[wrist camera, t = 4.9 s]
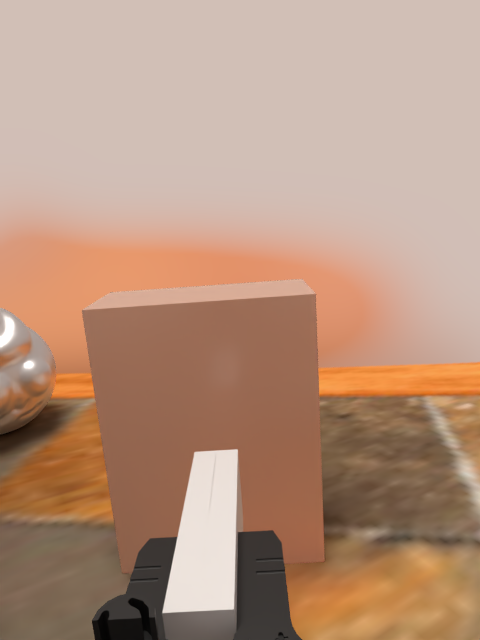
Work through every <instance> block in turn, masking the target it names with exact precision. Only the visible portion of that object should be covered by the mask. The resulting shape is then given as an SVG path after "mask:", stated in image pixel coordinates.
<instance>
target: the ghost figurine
mask: <svg viewBox="0 0 480 640" xmlns="http://www.w3.org/2000/svg"><path fill="white" fill-rule="evenodd" d="M55 382H56V366H55V361H54V357H53V355H52V353H51V350H50V348H49V347H48V345H47V344H46V342H45V341H44V340H43V339H42V338H41V337H40V336H39V335H38V334H37V333H36V332H35V331H33V330H32V329H30V328H28V327H27V326H26V325H25V324H24V323H23V322H22V321H21V320H20V319H19V318H17V317H16V316H15V315H14V314H12V313H11V312H9V311H7V310H5V309H2V308H0V434H4V433H8V432H11V431H13V430H16V429H18V428H20V427H22V426H24V425H26V424H27V423H29V422H30V421H31V420H33V419H34V418H35V417H36V416H37V415H38V414H39V413H40V412H41V411H42V410H43V409H44V407H45V406H46V405H47V403H48V401H49V399H50V398H51V395H52V393H53V390H54V387H55Z"/></svg>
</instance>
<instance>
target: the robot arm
mask: <svg viewBox="0 0 480 640" xmlns="http://www.w3.org/2000/svg"><path fill="white" fill-rule="evenodd" d="M92 624H93V630H94V635H95V640H302V639H301V638H300V637H299V636H298V635H297V634H296V632H295V630H294V628H293V627H292V623H291V619H290V611H289V602H288V593H287V585H286V576H285V567H284V559H283V550H282V542H281V541H280V540H279V538H278V537H277V535H276V534H275V533H274V531H273V530H268V531H250V532H243V509H242V497H241V484H240V471H239V458H238V449H234V450H217V451H201V452H195V453H194V458H193V463H192V468H191V473H190V478H189V483H188V488H187V493H186V498H185V503H184V508H183V512H182V517H181V522H180V527H179V532H178V537H165V538H150V539H149V540H148V541H147V542H146V544H145V545H144V546H143V547H142V548H141V550H140V551H139V552H138V555H137V559H136V562H135V565H134V570H133V572H132V575H131V578H130V583H129V585H128V588H127V591H126V594H125V595H120V596H117V597H115V598H114V599H112V600H110V601H108V602H107V603H105V604H104V605H103V606H102V607H101V608H100V609H99V610H98V611H97V613H96V615H95V616H94V618H93V620H92Z"/></svg>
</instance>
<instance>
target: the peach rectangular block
mask: <svg viewBox="0 0 480 640" xmlns="http://www.w3.org/2000/svg"><path fill="white" fill-rule="evenodd" d="M82 314H83V321H84V328H85V334H86V340H87V347H88V354H89V360H90V367H91V373H92V380H93V386H94V393H95V400H96V406H97V413H98V419H99V426H100V432H101V439H102V445H103V452H104V458H105V465H106V471H107V478H108V484H109V491H110V498H111V504H112V511H113V517H114V524H115V530H116V537H117V543H118V550H119V556H120V563H121V569H122V573H132V572H133V570H134V565H135V562H136V559H137V555H138V552H139V551H140V550H141V548H142V547H143V546H144V545H145V544H146V542H147V541H148V540H149V539H150V538H165V537H178V532H179V527H180V522H181V517H182V512H183V508H184V503H185V498H186V493H187V488H188V483H189V478H190V473H191V468H192V463H193V458H194V453H195V452H201V451H217V450H234V449H238V458H239V471H240V484H241V497H242V509H243V532H250V531H268V530H273V531H274V533H275V534H276V535H277V537H278V538H279V540H280V541H281V542H282V550H283V559H284V564H293V563H310V562H325V554H324V524H323V495H322V466H321V436H320V407H319V377H318V352H317V351H318V349H317V323H316V321H317V319H316V294H315V293H314V291H313V290H312V289H311V288H310V287H309V286H308V285H307V284H306V283H305V282H304V281H303V279H295V280H280V281H267V282H252V283H238V284H223V285H209V286H196V287H182V288H181V287H180V288H167V289H152V290H138V291H124V292H111V293H109V294H107V295H106V296H104V297H102V298H101V299H99V300H97V301H96V302H94V303H93V304H91V305H89V306H88V307H86V308H84V309H83V310H82Z"/></svg>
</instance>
